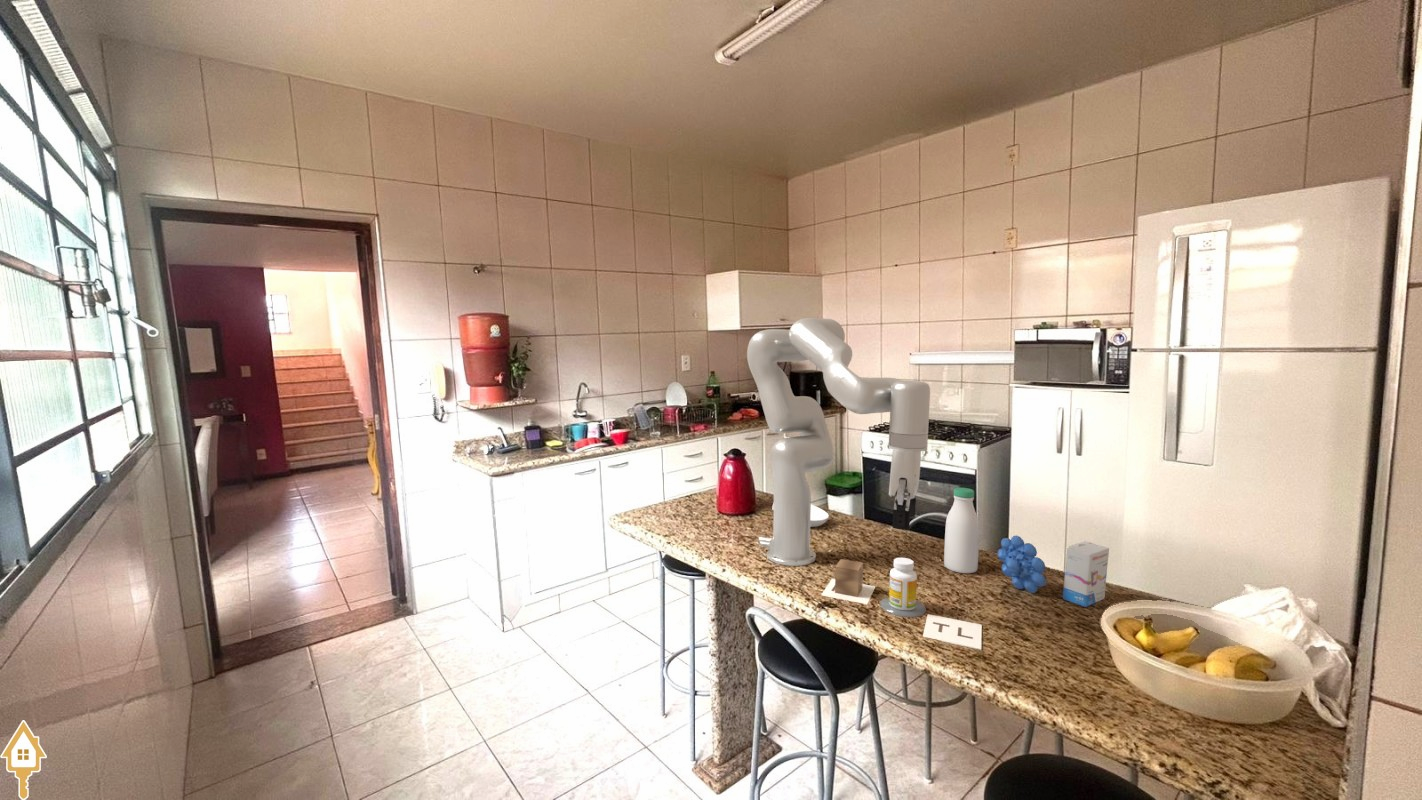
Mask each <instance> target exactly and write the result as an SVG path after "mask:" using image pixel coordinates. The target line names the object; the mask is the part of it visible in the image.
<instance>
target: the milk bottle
mask: <svg viewBox="0 0 1422 800" xmlns="http://www.w3.org/2000/svg"><path fill="white" fill-rule="evenodd" d="M953 498H954V501H953V504H952V505H951V508H950V510H949V512H948V513H947V517H946V521H945V530H944V531H945V533H944V550H943V551H944V552H943V554H944V555H943V565H944V567H945V568H946V569H948V570H949V571H952V572H955V573H958V574H959V573H960V574H972V573H973V574H974V573H976V572H977V571H978V568H979V567H978V566H979V548H980V521H979V520H980V519H979V517H978V514H977V512H976V509H975V507H974V503H973V501H974V499H975V490H974V489H972V488H967V487H956V488H954V489H953Z"/></svg>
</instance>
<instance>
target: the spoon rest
mask: <svg viewBox="0 0 1422 800" xmlns="http://www.w3.org/2000/svg"><path fill="white" fill-rule="evenodd" d="M771 510H772V511H774V502H773V503H772V506H771ZM829 519H830V515H829V513H828V512H827V511H825V510H823V509H822V508H820V507H819V506H817V505H814V503H811V514H810V528H815V527H820V526H822V525H824V524H825V523H826V522H827V521H828V520H829Z"/></svg>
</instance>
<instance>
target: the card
mask: <svg viewBox="0 0 1422 800" xmlns="http://www.w3.org/2000/svg"><path fill="white" fill-rule="evenodd" d="M982 625H983V624H979V623H976V622H975V623H974V622H971V621H970V622H969V621H966V620H965V621H964V620H960V619H955V618H950V617H943V616H939V615H934V614H929V613H927V616H926V620H925V625H924V628H923V634H922V637H924V638H927V639H933V640H938V641H939V642H942V643H947V644H951V645H956V646H961V647H964V648H969V649H974V650H980V651H982V632H983V629H982V628H983V627H982Z"/></svg>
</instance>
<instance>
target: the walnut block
mask: <svg viewBox="0 0 1422 800" xmlns="http://www.w3.org/2000/svg"><path fill="white" fill-rule="evenodd" d="M863 573H864V563H863V562H862V561H861V562H860V561H856V560H849V559H842V558H840V560H839V561H838V562H837V564H836V566H835V574H834V575H835V578H834V579H835V593H839V594H844V595H849V596H854V597H858V596H859V594H860V592H861V590H862V584H863V575H864V574H863Z"/></svg>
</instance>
